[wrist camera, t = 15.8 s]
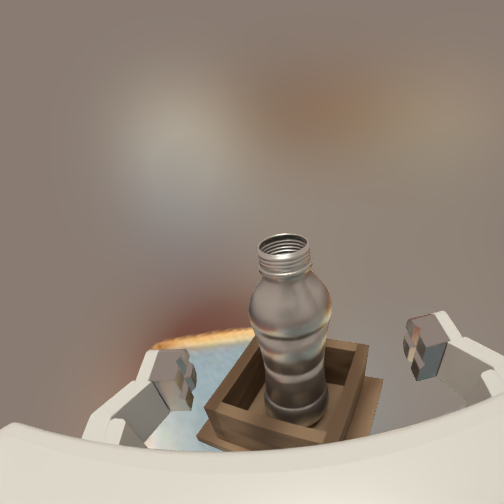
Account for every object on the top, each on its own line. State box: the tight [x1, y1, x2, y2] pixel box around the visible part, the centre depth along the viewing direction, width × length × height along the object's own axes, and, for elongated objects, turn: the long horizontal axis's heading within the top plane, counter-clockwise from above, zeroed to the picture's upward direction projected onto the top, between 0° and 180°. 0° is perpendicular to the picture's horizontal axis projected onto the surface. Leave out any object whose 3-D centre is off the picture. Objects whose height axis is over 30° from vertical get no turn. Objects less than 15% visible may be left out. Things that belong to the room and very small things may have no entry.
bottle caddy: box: [196, 335, 383, 452], centre depth 30 cm, size 17×14×7 cm
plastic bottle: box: [248, 233, 332, 427], centre depth 26 cm, size 6×7×20 cm
